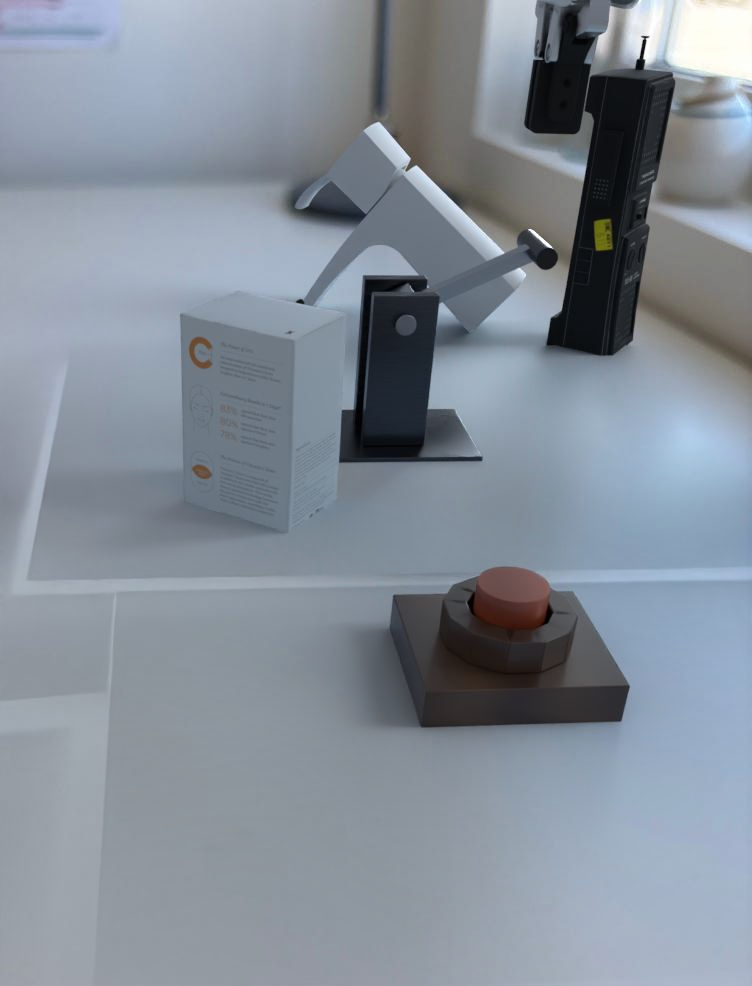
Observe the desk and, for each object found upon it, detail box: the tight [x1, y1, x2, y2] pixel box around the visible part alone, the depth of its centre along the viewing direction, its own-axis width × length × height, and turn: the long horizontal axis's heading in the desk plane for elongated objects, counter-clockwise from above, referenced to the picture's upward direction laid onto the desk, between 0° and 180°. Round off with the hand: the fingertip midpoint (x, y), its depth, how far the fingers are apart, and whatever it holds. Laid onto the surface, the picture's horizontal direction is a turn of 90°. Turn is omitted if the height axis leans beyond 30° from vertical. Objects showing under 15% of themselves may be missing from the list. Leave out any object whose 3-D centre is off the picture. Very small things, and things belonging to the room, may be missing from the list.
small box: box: [179, 290, 348, 534], centre depth 70 cm, size 8×6×13 cm
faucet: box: [294, 121, 527, 334], centre depth 107 cm, size 6×16×20 cm
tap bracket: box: [339, 274, 484, 464], centre depth 80 cm, size 12×9×12 cm
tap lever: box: [390, 228, 559, 305], centre depth 77 cm, size 12×5×2 cm, turn 95°
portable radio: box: [546, 35, 676, 357], centre depth 95 cm, size 8×6×25 cm
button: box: [473, 565, 552, 630], centre depth 56 cm, size 4×4×2 cm
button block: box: [389, 575, 631, 728], centre depth 58 cm, size 10×9×4 cm
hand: (551, 130), depth 72 cm, fingers closed
